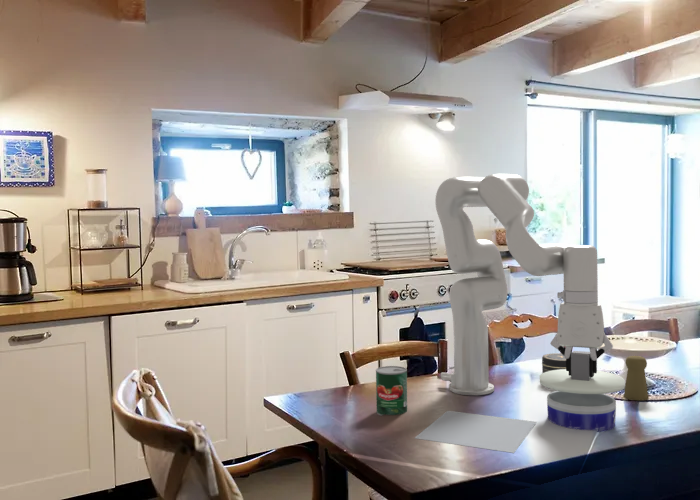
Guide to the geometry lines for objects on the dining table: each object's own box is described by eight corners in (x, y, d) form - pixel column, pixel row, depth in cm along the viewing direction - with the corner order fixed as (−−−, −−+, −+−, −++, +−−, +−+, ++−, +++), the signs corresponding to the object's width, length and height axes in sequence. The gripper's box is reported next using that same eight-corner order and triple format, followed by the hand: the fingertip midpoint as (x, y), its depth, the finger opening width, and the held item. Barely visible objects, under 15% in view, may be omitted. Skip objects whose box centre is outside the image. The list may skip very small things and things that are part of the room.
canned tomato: (380, 418, 162) (379, 374, 161) (373, 409, 169) (372, 366, 169) (411, 415, 163) (410, 372, 162) (403, 406, 171) (402, 365, 170)
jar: (558, 376, 198) (558, 351, 198) (585, 383, 190) (585, 357, 189) (534, 381, 193) (534, 355, 193) (561, 388, 185) (561, 362, 184)
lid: (531, 389, 151) (531, 358, 150) (548, 371, 167) (547, 343, 167) (620, 397, 142) (620, 364, 141) (628, 377, 159) (628, 348, 158)
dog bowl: (555, 409, 166) (555, 386, 166) (620, 418, 158) (620, 393, 158) (540, 427, 153) (540, 401, 152) (610, 437, 145) (610, 410, 145)
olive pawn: (651, 400, 171) (651, 359, 170) (626, 400, 172) (626, 358, 172) (645, 394, 177) (645, 354, 176) (621, 393, 178) (621, 353, 178)
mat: (414, 440, 145) (414, 437, 145) (447, 413, 165) (447, 410, 164) (514, 455, 135) (514, 452, 135) (536, 424, 154) (536, 421, 154)
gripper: (540, 298, 154) (541, 375, 155) (617, 301, 147) (618, 382, 147) (547, 295, 161) (548, 368, 162) (620, 297, 153) (621, 374, 154)
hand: (581, 374), depth 155 cm, fingers closed on lid, 4 cm apart
